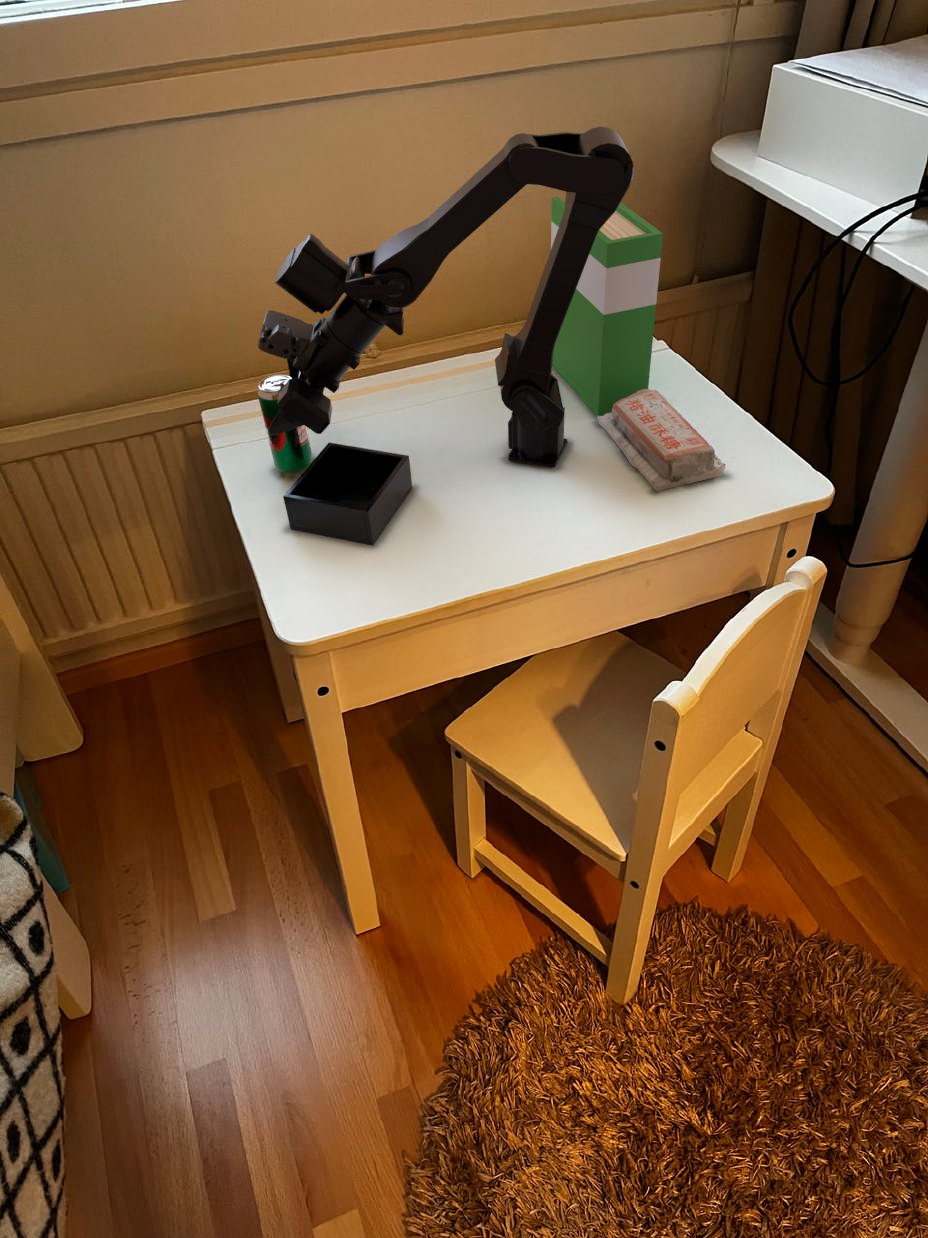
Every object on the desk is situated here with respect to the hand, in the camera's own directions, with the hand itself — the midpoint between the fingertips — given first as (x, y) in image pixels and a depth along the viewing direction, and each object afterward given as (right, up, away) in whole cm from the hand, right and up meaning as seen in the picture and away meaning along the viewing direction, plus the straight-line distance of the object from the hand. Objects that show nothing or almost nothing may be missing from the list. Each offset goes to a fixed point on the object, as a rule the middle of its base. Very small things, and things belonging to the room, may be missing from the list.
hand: (273, 421), depth 117 cm
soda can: (+2, -5, +5) cm, 7 cm away
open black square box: (+11, -11, -3) cm, 16 cm away
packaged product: (+50, -3, +4) cm, 50 cm away
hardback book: (+44, +9, +17) cm, 48 cm away
